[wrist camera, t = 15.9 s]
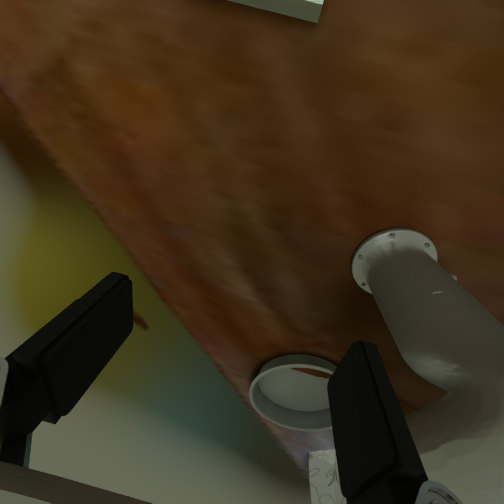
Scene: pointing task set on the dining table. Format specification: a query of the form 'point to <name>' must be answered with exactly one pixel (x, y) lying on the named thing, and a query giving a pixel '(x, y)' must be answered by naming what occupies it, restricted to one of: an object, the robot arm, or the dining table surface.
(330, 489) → the grocery bag
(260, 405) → the cake pan
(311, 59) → the dining table surface
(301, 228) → the dining table surface
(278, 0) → the sage bin
